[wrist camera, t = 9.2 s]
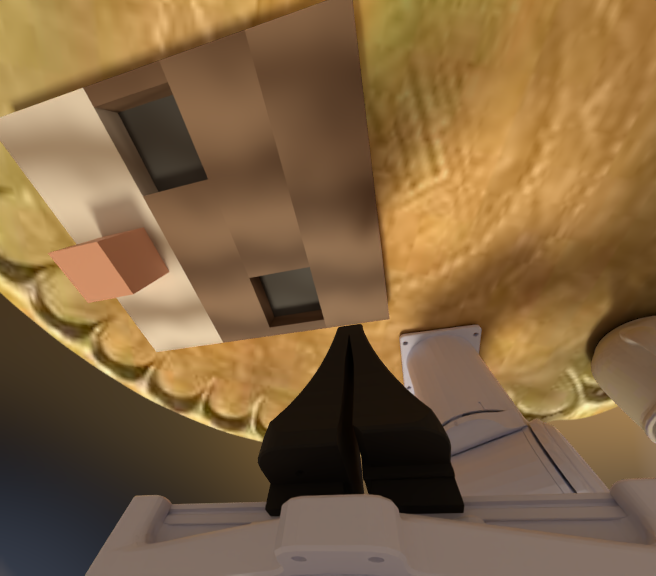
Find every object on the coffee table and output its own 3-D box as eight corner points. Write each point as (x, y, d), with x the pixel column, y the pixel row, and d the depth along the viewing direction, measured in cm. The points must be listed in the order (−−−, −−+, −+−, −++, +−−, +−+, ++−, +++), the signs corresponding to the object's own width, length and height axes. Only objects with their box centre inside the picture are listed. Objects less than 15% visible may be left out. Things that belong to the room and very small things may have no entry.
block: (169, 271, 20) (133, 294, 17) (131, 279, 21) (88, 302, 17) (143, 227, 18) (96, 241, 15) (102, 237, 19) (47, 253, 16)
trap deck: (385, 307, 23) (389, 319, 21) (168, 339, 27) (156, 351, 25) (350, 14, 14) (351, -9, 12) (22, 126, 17) (-14, 122, 16)
